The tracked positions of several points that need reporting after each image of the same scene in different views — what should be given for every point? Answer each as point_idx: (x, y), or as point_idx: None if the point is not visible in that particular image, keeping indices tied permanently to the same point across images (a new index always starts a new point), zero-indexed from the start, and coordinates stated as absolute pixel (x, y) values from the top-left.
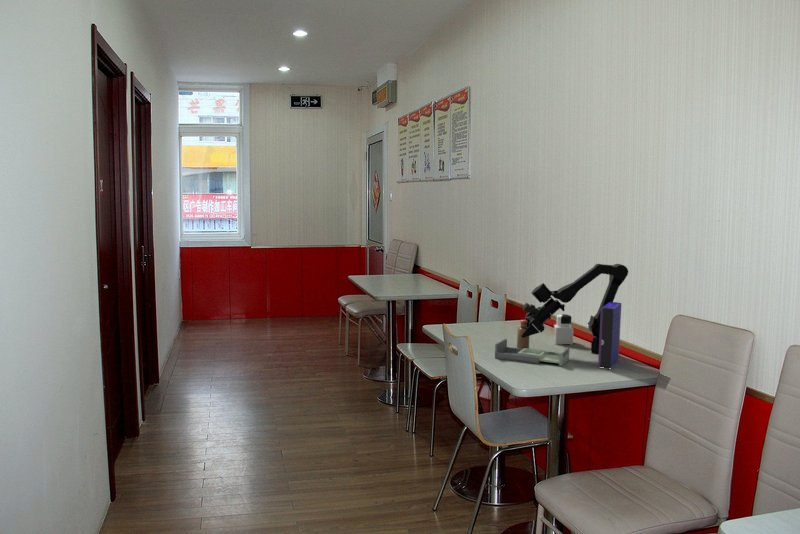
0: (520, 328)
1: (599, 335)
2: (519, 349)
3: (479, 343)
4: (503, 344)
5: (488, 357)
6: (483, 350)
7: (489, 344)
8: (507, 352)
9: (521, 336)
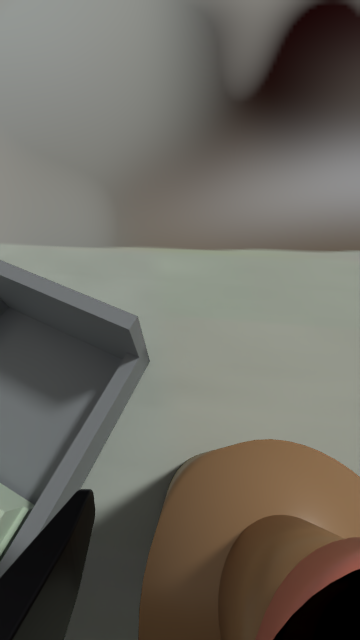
0: (225, 503)
1: None
2: (66, 456)
3: (333, 258)
4: (66, 314)
5: None
6: (183, 265)
7: (333, 297)
8: (105, 370)
9: (77, 492)
